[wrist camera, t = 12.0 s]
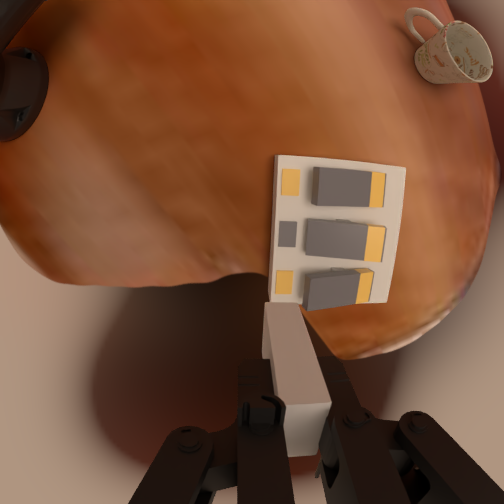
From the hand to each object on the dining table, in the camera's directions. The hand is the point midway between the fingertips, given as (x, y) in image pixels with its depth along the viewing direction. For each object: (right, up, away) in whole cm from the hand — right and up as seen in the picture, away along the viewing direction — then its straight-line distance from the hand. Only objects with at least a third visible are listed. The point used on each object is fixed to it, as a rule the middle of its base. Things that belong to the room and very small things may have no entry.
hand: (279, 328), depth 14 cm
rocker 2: (+9, +5, +20) cm, 23 cm away
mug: (+23, +32, +19) cm, 44 cm away
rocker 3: (+9, -1, +22) cm, 24 cm away
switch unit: (+9, +7, +26) cm, 28 cm away
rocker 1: (+10, +11, +18) cm, 23 cm away
